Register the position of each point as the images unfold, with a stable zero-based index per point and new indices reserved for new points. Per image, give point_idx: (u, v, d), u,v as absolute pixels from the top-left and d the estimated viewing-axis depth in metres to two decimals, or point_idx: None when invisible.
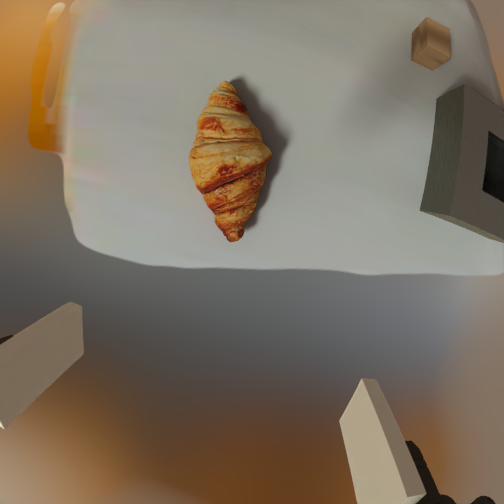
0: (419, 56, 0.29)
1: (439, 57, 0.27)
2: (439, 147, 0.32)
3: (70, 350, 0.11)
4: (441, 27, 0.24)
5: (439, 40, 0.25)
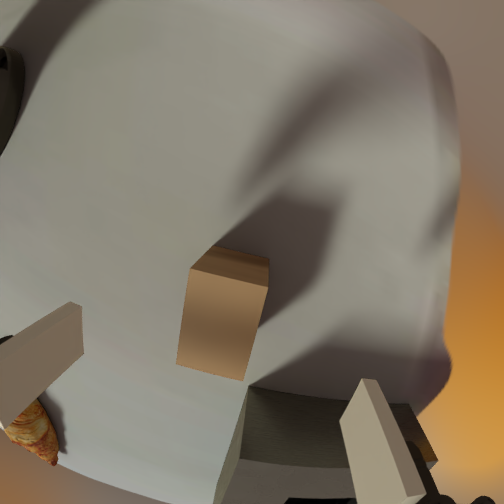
0: None
1: None
2: (226, 462, 0.22)
3: (70, 350, 0.11)
4: (236, 293, 0.14)
5: (217, 341, 0.15)
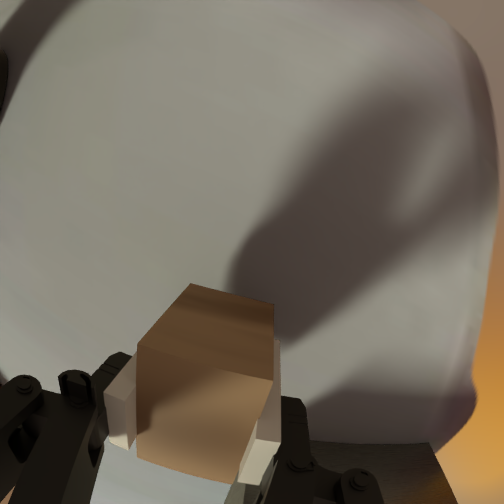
0: None
1: None
2: None
3: None
4: (217, 387, 0.08)
5: (191, 443, 0.08)
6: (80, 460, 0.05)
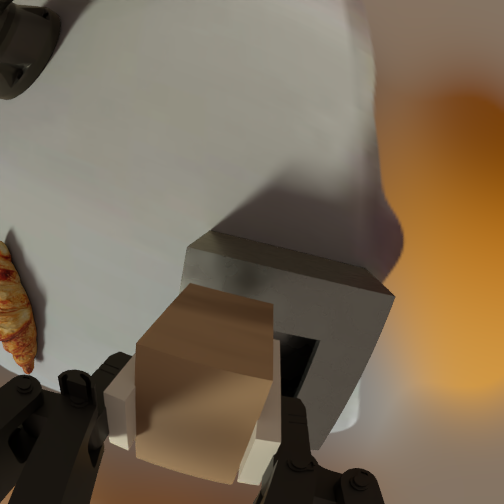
0: None
1: None
2: None
3: None
4: (217, 387, 0.08)
5: (190, 443, 0.08)
6: (80, 460, 0.05)
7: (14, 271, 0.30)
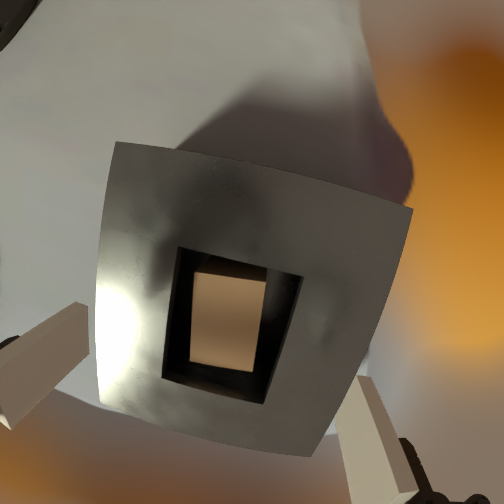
0: None
1: None
2: None
3: (76, 350, 0.11)
4: (238, 290, 0.16)
5: (225, 336, 0.17)
6: None
7: None
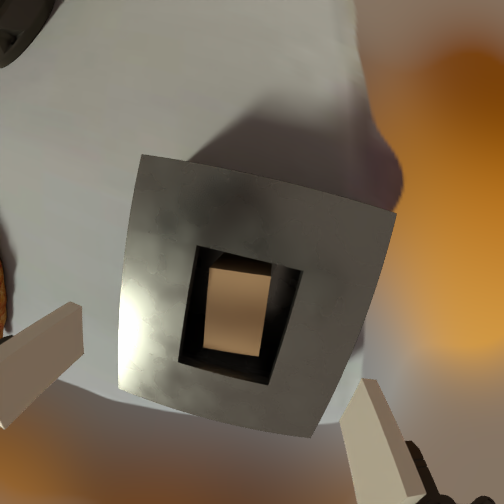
0: None
1: None
2: None
3: (70, 350, 0.11)
4: (247, 283, 0.19)
5: (235, 324, 0.19)
6: None
7: None
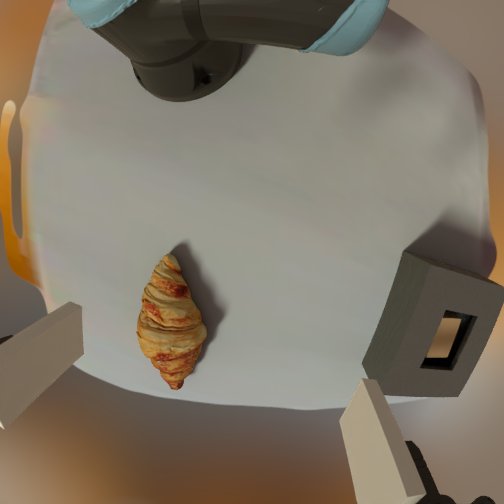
0: None
1: None
2: (389, 315, 0.36)
3: (70, 350, 0.11)
4: (452, 323, 0.31)
5: (443, 343, 0.32)
6: None
7: (188, 287, 0.38)
